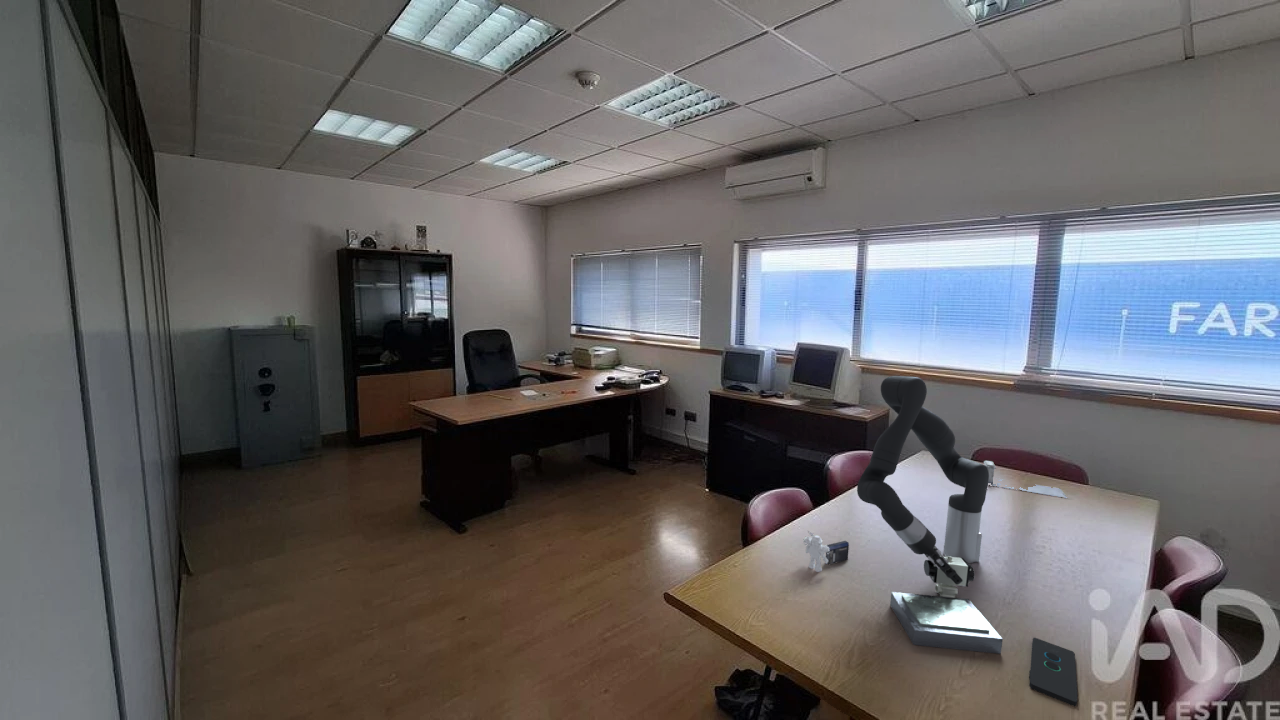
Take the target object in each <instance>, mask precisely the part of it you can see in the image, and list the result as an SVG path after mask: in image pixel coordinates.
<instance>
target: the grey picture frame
mask: <svg viewBox="0 0 1280 720" xmlns="http://www.w3.org/2000/svg"><path fill="white" fill-rule="evenodd" d="M889 601H890V603H889V605H890V607H891V609H892V611H893V612H894V614H895V616H896V618H897V619H898V621H899V622H900V624H901V626H902V628H903V629H904V631H905V633H906V635H907V637H908V638H909V640H910V641H911V643H912V644H913V646H922V647H932V648H941V649H952V650H958V651H968V652H969V651H971V652H977V653H978V652H979V653H990V654H997V655H998V654H999V655H1002V649H1003V648H1002V647H1003V637H1002V636H1001V635H1000V634H999V633H998V631H997V630H996V629H995V628H994V627H993V626H992V624H991V623H990V622H989V621H988V619H986V617H985V616H984V615H983V614H982V612H980V610H979V609H978V608H977V607H976V606H975V605H974V604H973V602H972V601H971V600H970V599H969V598H964V597H963V598H962V597H955V598H953V597H942V596H940V595H939V596H938V595H930V594H929V595H927V594H919V593H918V594H916V593H908V592H896V591H891V593H890V600H889Z"/></svg>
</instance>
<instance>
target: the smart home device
mask: <svg viewBox="0 0 1280 720" xmlns="http://www.w3.org/2000/svg"><path fill="white" fill-rule="evenodd" d="M1030 655H1031V657H1030V669H1029V673H1028V675H1029V676H1028V678H1029V682H1028V684H1029V688H1030V689H1031V690H1033V691H1035V692H1038V693H1040V694H1044V695H1045V696H1048V697H1050V698H1053V699H1055V700H1057V701H1060V702H1063V703H1065V704H1067V705H1070V706H1072V707H1077V705H1078V696H1079V694H1078V681H1077V669H1076V653H1075V651H1073V650H1070V649H1068V648H1065V647H1063V646H1059V645H1056V644H1054V643H1051V642H1048V641H1046V640H1042V639H1040V638H1037V637H1033V638H1032V643H1031V654H1030Z"/></svg>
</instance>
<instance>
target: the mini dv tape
mask: <svg viewBox="0 0 1280 720" xmlns="http://www.w3.org/2000/svg"><path fill="white" fill-rule="evenodd" d="M826 545H827V544H826ZM849 546H850V544H849V541H847V540H843V541H838V542H834V543H831V544H828V545H827V547H829V548H830V549H829V550H830V551H829V552H830V553H829V552H825V557H826V558H827V559H828V563H826V564H827V565H829V564H830V565H833V564H837V563H841V562H845V561H848V560H849V549H850V548H849ZM827 553H829V554H827ZM836 562H837V563H836Z"/></svg>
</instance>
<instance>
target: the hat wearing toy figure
mask: <svg viewBox="0 0 1280 720" xmlns="http://www.w3.org/2000/svg"><path fill="white" fill-rule="evenodd" d="M807 533H808V535H810V536H805V538H803V544H804V546H805V548H806V549H805V553H806V554H809V555H810V561H809V563H808V568H809V569H810V570H814V571H815V572H817V573H820V572H822V571H823V567H822V561H823V562H824V563H825V564H827V563H828V559H827V558H826V554H825V553H826V552H829V551H830V550H829V549H830V548H829V547H827V545H829V544H825V545H824V544H823V539H822V538H821V536H820V535H814V534H815V533H814V532H812V531H810V530H807ZM829 553H830V552H829ZM829 553H827V554H829ZM821 558H822V561H821ZM815 563H816V564H815Z"/></svg>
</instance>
